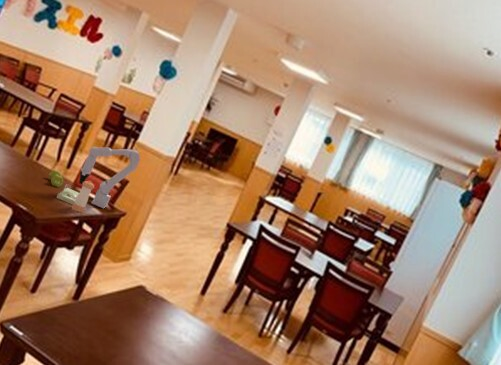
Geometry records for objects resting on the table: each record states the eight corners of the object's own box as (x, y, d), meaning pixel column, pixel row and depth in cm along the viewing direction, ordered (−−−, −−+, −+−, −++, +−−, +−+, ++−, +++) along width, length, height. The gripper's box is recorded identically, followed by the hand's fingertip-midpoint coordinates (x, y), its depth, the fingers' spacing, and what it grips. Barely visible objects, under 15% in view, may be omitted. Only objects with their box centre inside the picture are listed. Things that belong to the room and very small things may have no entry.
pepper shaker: (70, 209, 307) (83, 180, 305) (71, 206, 313) (84, 177, 312) (82, 213, 309) (95, 184, 307) (83, 210, 316) (96, 182, 314)
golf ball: (71, 202, 324) (75, 200, 327) (74, 199, 321) (78, 196, 325) (67, 198, 323) (71, 195, 326) (70, 194, 321) (74, 192, 324)
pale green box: (85, 199, 341) (92, 186, 341) (78, 206, 318) (84, 192, 317) (65, 191, 339) (71, 177, 338) (56, 197, 316) (62, 182, 315)
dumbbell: (61, 188, 340) (65, 178, 339) (49, 184, 336) (53, 174, 336) (58, 181, 354) (63, 172, 354) (47, 177, 350) (51, 168, 350)
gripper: (85, 160, 341) (77, 179, 342) (81, 163, 327) (72, 182, 328) (95, 165, 343) (87, 183, 344) (91, 167, 328) (83, 187, 330)
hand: (80, 183), depth 336 cm, fingers closed
